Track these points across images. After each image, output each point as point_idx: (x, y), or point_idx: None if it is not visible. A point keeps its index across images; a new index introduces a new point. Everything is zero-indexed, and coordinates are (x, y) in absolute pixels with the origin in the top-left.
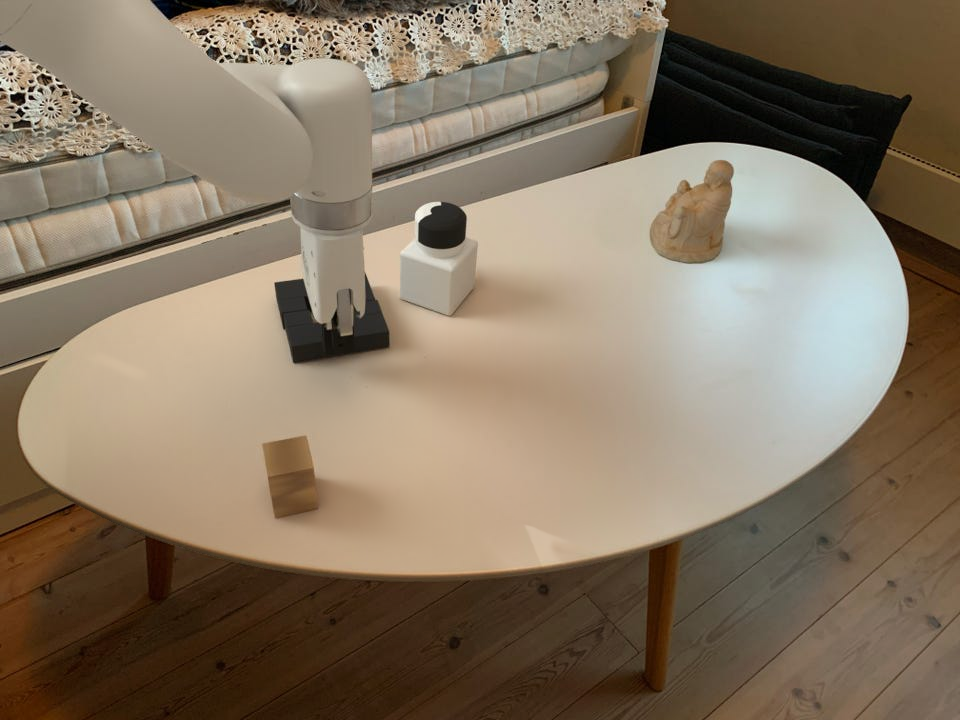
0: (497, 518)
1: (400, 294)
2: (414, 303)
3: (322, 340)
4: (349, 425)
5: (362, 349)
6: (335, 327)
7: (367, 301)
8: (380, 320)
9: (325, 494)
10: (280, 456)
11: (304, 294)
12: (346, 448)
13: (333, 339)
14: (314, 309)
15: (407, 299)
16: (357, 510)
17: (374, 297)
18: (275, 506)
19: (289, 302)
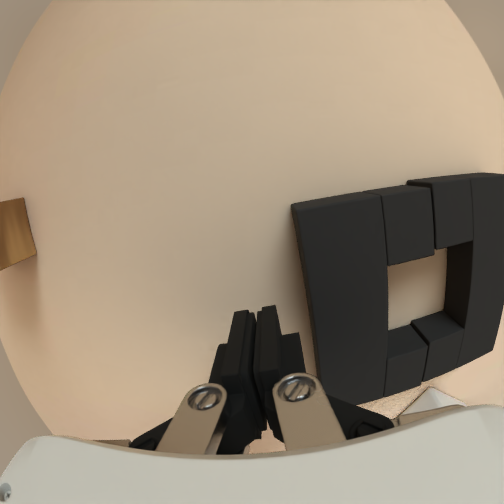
0: (57, 412)
1: (432, 393)
2: (410, 406)
3: (264, 317)
4: (120, 313)
5: (314, 349)
6: (151, 433)
7: (422, 371)
8: (360, 398)
9: (24, 271)
10: None
11: (477, 241)
12: (80, 304)
13: (211, 371)
14: (31, 471)
15: (420, 399)
16: (19, 305)
17: (427, 380)
18: None
19: (461, 205)
